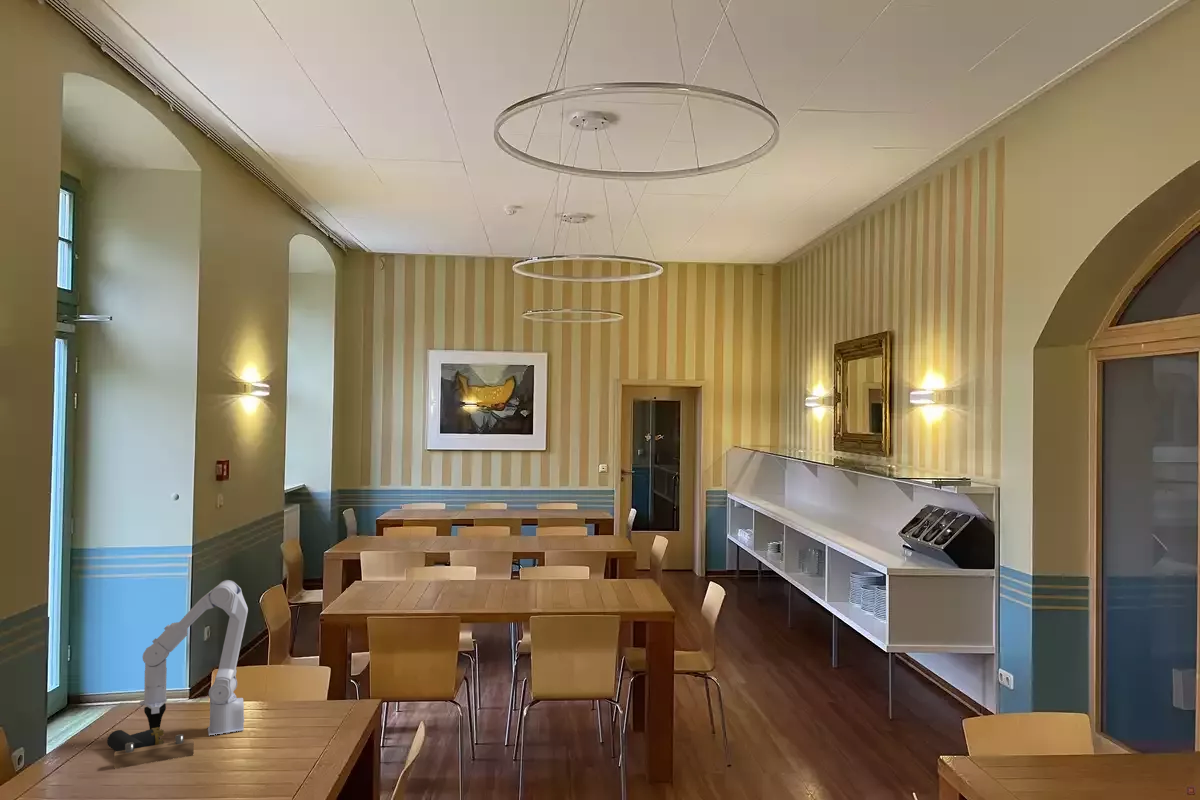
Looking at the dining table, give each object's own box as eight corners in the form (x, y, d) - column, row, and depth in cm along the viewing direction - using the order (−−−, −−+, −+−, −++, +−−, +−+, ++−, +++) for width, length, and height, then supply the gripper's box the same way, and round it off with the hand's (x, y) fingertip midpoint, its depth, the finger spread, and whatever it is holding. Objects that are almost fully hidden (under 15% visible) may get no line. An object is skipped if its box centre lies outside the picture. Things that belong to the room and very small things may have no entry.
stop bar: (193, 751, 229) (193, 731, 230) (193, 755, 227) (193, 735, 227) (114, 765, 220) (114, 744, 220) (114, 769, 218) (114, 748, 218)
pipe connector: (150, 720, 240) (171, 732, 230) (150, 738, 240) (171, 751, 230) (107, 732, 232) (126, 745, 222) (107, 751, 231) (127, 764, 222)
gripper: (140, 680, 246) (139, 726, 246) (139, 693, 234) (138, 741, 233) (166, 677, 250) (166, 722, 249) (167, 689, 237) (166, 737, 236)
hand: (154, 731), depth 241 cm, fingers closed
